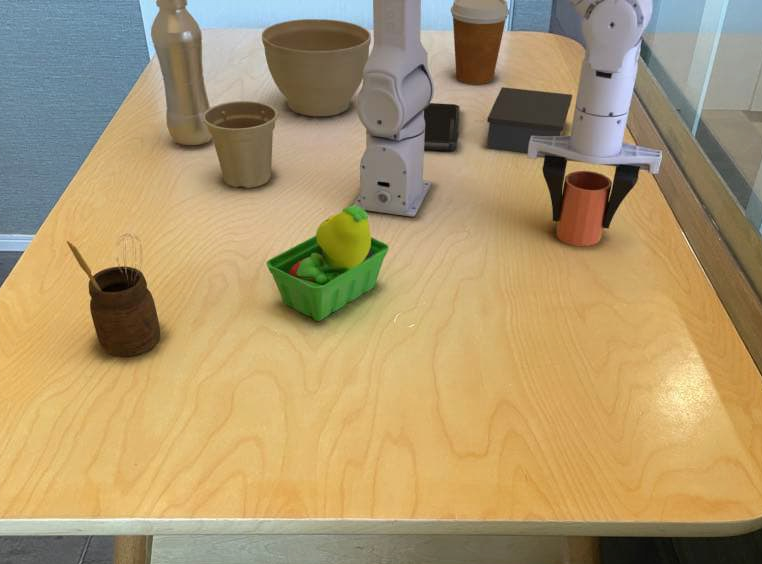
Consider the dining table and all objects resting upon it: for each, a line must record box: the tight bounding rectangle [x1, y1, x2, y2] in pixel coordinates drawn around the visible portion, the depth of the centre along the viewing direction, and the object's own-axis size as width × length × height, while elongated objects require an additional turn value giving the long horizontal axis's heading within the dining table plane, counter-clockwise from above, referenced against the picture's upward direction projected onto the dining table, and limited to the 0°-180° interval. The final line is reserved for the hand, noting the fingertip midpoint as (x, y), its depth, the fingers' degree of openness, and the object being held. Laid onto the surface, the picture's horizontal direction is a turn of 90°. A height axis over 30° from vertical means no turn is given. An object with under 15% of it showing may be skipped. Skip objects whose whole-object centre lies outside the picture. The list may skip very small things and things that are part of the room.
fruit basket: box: [266, 205, 390, 322], centre depth 83 cm, size 11×9×11 cm
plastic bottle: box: [150, 0, 213, 146], centre depth 110 cm, size 6×7×20 cm
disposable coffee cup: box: [450, 0, 510, 85], centre depth 135 cm, size 10×10×12 cm
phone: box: [424, 102, 461, 152], centre depth 121 cm, size 8×1×15 cm
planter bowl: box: [261, 18, 372, 117], centre depth 124 cm, size 16×16×11 cm
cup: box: [555, 170, 613, 247], centre depth 95 cm, size 5×5×7 cm
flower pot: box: [202, 100, 279, 189], centre depth 105 cm, size 9×9×9 cm
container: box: [486, 86, 573, 154], centre depth 119 cm, size 13×11×4 cm
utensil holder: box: [66, 233, 161, 357], centre depth 76 cm, size 6×6×12 cm
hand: (581, 221), depth 96 cm, fingers closed on cup, 5 cm apart
